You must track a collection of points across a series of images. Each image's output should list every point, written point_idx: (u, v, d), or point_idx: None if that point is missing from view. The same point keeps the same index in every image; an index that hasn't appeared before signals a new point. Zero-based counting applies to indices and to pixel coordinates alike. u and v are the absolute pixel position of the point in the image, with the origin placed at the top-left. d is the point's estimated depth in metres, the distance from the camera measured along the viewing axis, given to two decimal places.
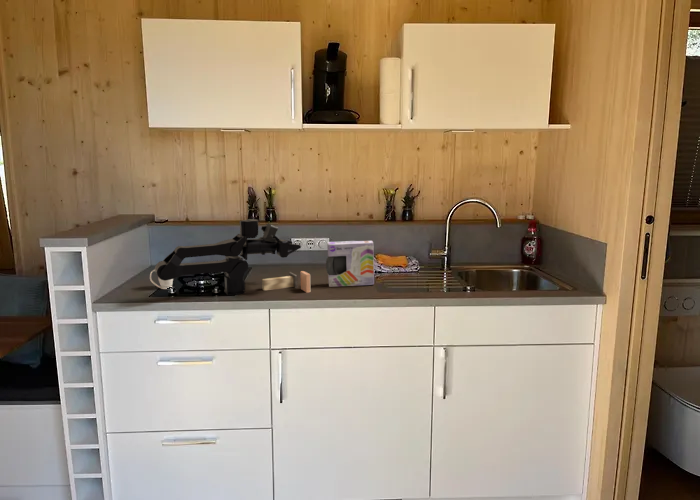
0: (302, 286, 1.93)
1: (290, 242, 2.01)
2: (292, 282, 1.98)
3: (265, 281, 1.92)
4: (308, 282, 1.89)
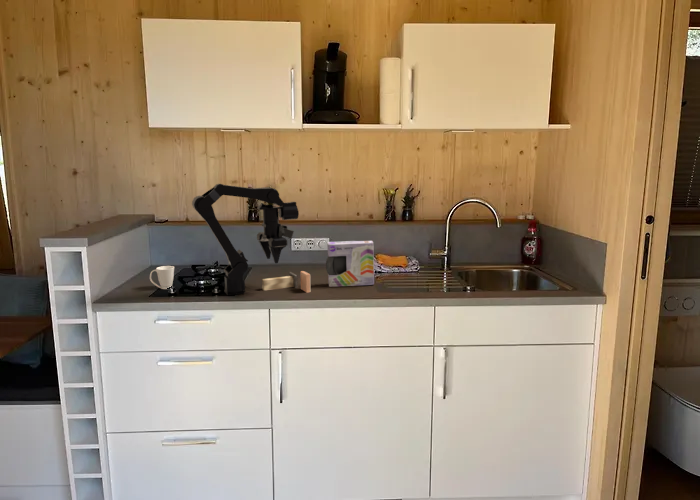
0: (302, 286, 1.93)
1: (269, 256, 1.97)
2: (292, 282, 1.98)
3: (265, 281, 1.92)
4: (308, 282, 1.89)
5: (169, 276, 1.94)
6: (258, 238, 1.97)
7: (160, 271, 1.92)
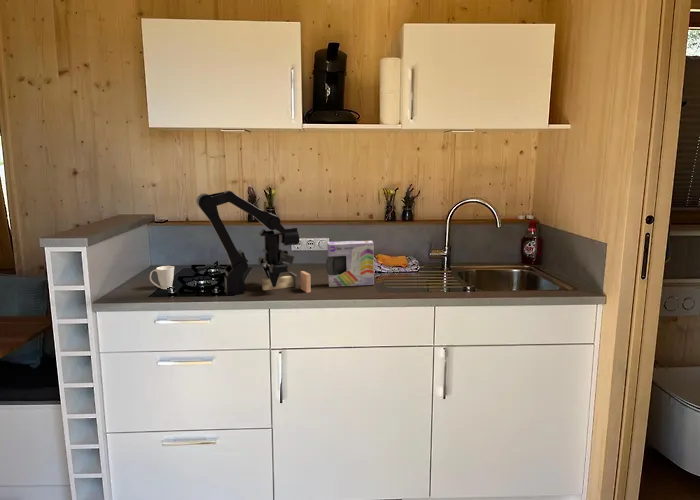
0: (302, 286, 1.93)
1: None
2: (292, 282, 1.98)
3: (265, 281, 1.92)
4: (308, 282, 1.89)
5: (169, 276, 1.94)
6: (259, 263, 1.98)
7: (160, 271, 1.92)
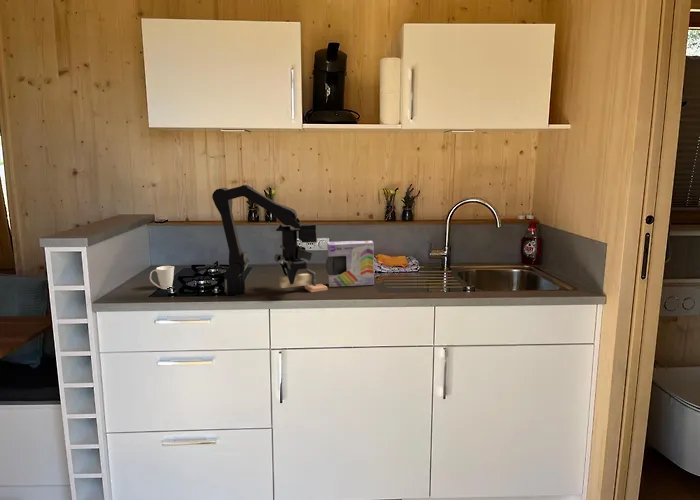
0: (309, 286, 1.95)
1: None
2: (310, 280, 1.91)
3: (283, 278, 1.86)
4: (320, 289, 1.92)
5: (169, 276, 1.94)
6: (276, 259, 1.92)
7: (160, 271, 1.92)
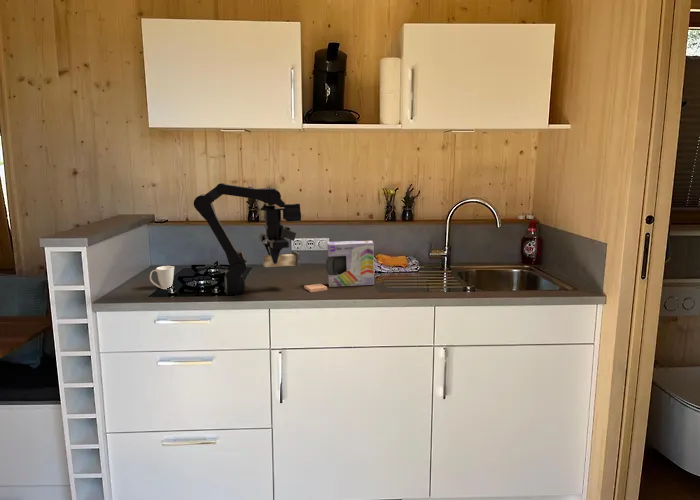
0: (309, 286, 1.94)
1: None
2: (294, 260, 1.92)
3: (266, 257, 1.87)
4: (320, 290, 1.92)
5: (169, 276, 1.94)
6: (260, 239, 1.94)
7: (160, 271, 1.92)
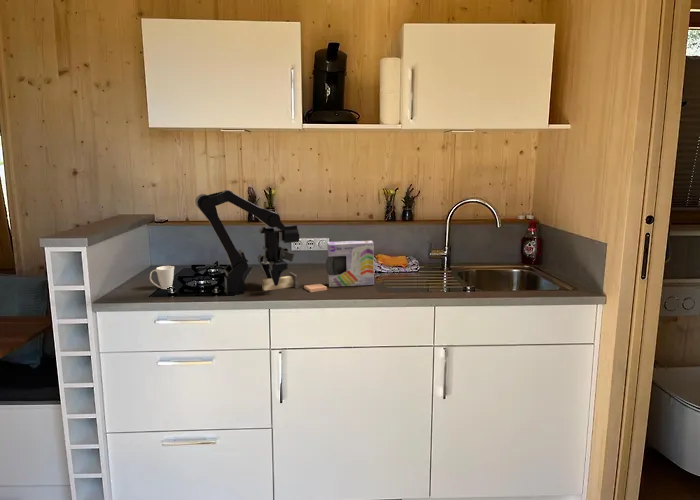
0: (309, 286, 1.94)
1: None
2: (292, 282, 1.98)
3: (265, 281, 1.92)
4: (319, 290, 1.92)
5: (169, 276, 1.94)
6: (259, 260, 1.98)
7: (160, 271, 1.92)
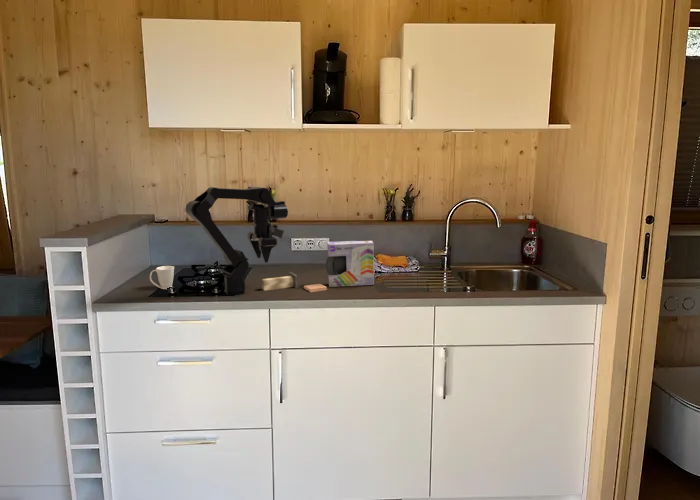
0: (309, 286, 1.94)
1: (259, 256, 1.98)
2: (292, 282, 1.98)
3: (265, 281, 1.92)
4: (319, 289, 1.92)
5: (169, 276, 1.94)
6: (248, 237, 1.98)
7: (160, 271, 1.92)
